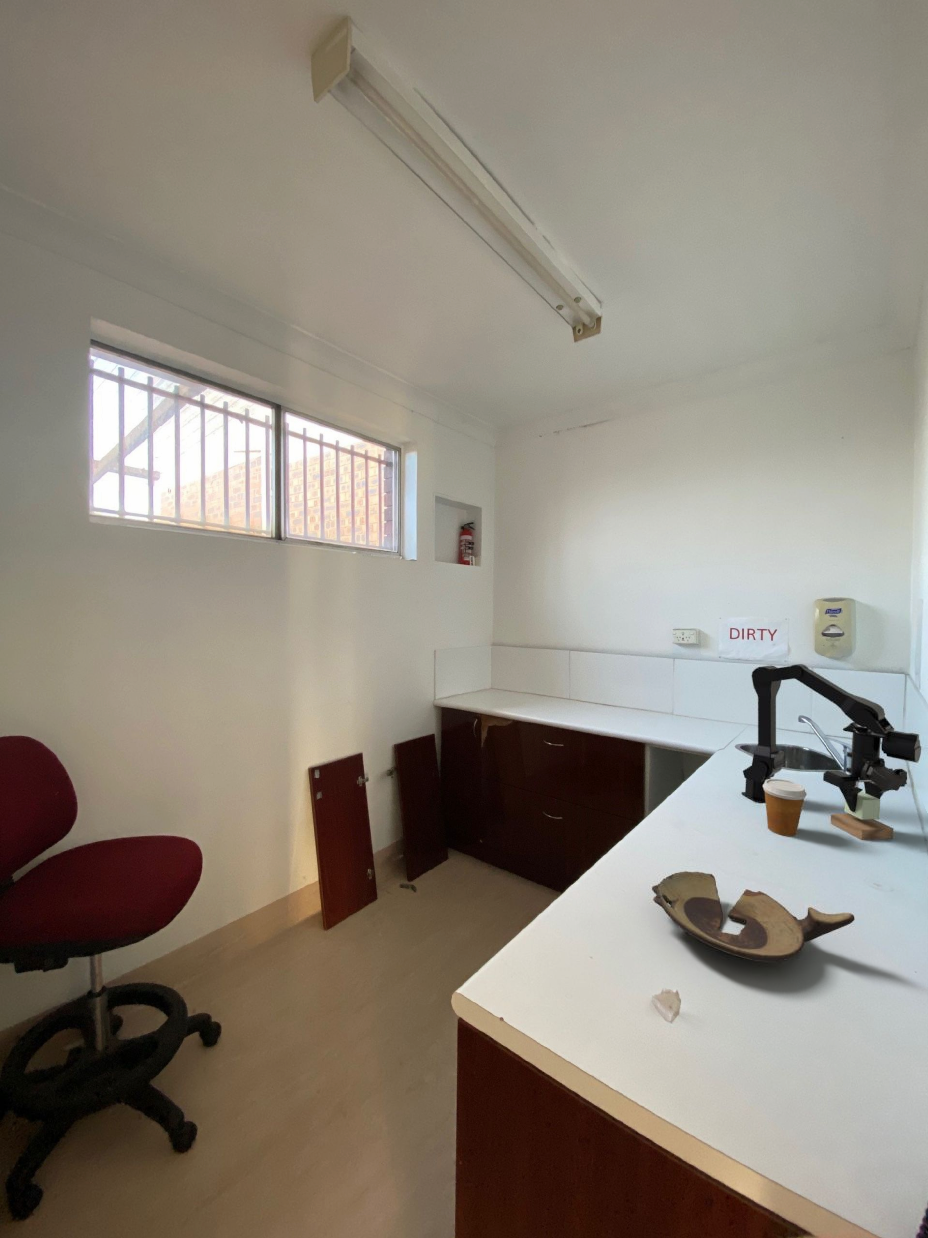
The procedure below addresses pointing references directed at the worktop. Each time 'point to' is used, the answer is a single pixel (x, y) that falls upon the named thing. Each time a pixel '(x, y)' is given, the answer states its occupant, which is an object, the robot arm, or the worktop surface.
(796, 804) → the disposable coffee cup
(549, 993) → the worktop surface
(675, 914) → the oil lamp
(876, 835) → the walnut base
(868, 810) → the sage block
